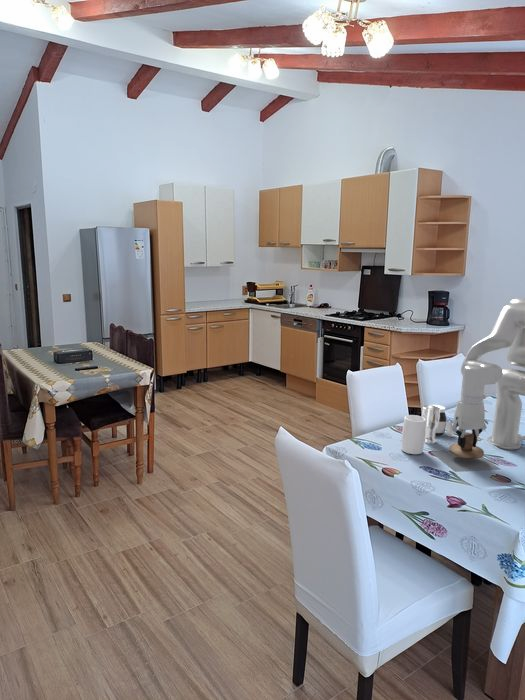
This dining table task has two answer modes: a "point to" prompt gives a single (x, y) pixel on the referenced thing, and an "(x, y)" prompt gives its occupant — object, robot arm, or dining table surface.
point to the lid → (467, 448)
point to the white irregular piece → (444, 423)
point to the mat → (464, 462)
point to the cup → (413, 434)
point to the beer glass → (431, 422)
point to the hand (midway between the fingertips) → (466, 445)
